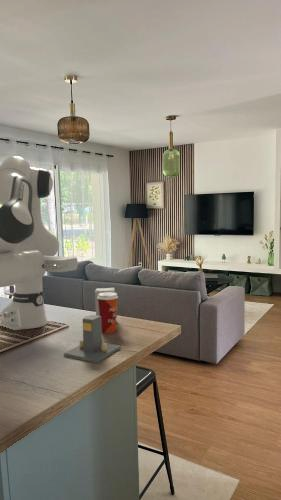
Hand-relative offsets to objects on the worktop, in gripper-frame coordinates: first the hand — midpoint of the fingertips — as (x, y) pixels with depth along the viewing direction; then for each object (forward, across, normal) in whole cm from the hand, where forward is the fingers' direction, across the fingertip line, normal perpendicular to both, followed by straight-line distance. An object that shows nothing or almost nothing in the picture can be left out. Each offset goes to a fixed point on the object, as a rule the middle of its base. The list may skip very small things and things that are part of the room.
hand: (62, 260), depth 115 cm
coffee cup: (+30, +3, +32) cm, 44 cm away
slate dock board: (+8, -5, +32) cm, 33 cm away
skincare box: (+39, +10, +32) cm, 52 cm away
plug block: (+8, -5, +31) cm, 32 cm away
